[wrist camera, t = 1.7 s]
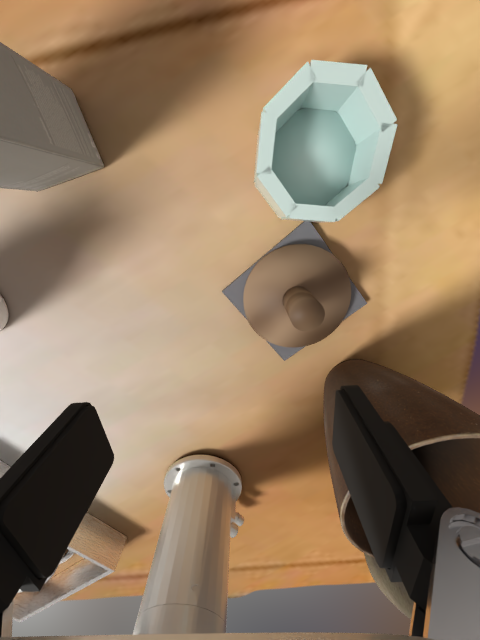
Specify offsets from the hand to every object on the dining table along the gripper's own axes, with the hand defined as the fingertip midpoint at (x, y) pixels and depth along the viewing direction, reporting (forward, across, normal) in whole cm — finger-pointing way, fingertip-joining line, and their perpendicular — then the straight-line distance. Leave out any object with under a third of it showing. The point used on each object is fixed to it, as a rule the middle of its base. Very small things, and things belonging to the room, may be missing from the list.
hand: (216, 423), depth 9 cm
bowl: (+21, -8, -12) cm, 25 cm away
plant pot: (+21, -15, +14) cm, 29 cm away
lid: (+20, -7, +2) cm, 21 cm away
